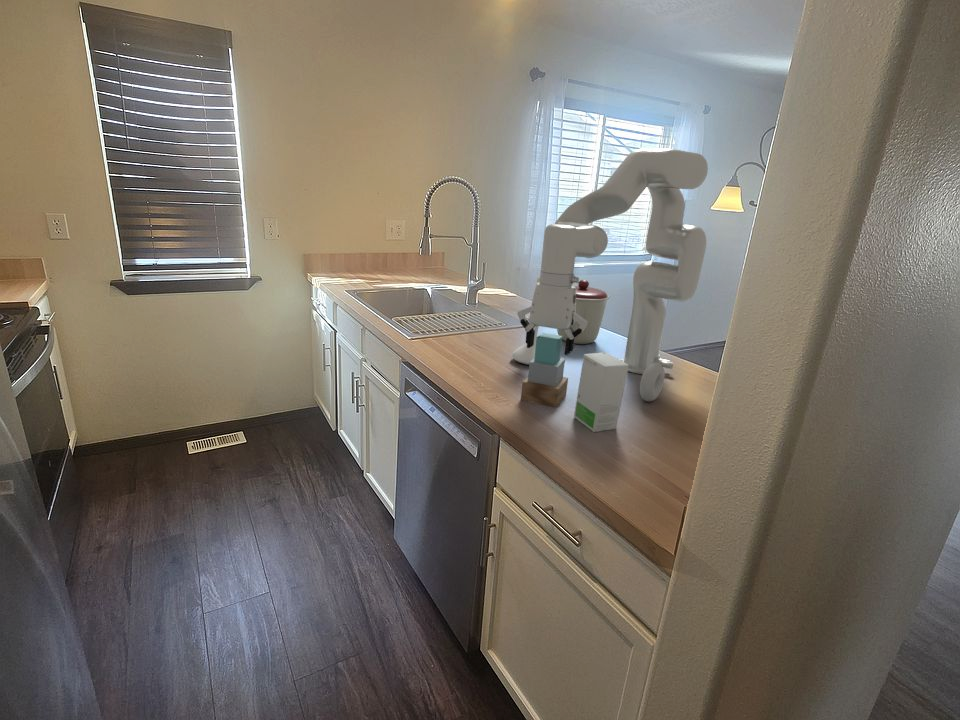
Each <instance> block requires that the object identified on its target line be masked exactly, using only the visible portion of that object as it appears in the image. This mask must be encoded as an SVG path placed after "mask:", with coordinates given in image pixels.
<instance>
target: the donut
mask: <svg viewBox="0 0 960 720" xmlns="http://www.w3.org/2000/svg"><path fill="white" fill-rule="evenodd" d="M664 368H665V367H663V366H661V365H660V364H659V363H652V364H650V365H649V366H648V367H647V368H646V369H645V371H644V373H643V374H641V375H642V376H641V378H640V383H639V395H640V396H641V398H642V399H643V400H644V401H645V402H653V401H655V400H657V398H658V397H659V396H660V393H661V391H662V389H663V385H664V381H665V376H666V375H665V369H664Z"/></svg>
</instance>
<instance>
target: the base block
mask: <svg viewBox="0 0 960 720" xmlns="http://www.w3.org/2000/svg"><path fill="white" fill-rule="evenodd" d="M568 382H569V377H566V376H563V378H562V379H561V381H560V382H559V383H558V384H557V386H556V387H554V386H549V385H544V384H539V383H534V382H529V381H528V376H527V377H526V378H525V379H524V380H522V383H521V392H520V393H521V394H520V401H524V402H529V403H531V404H537V405H542V406H546V407H551V408H554V409H556V408H558V406H559V405H560V404H561V403H562V401H563V400H564V398H566V396H567V390H568V385H569V384H568Z"/></svg>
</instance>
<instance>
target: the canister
mask: <svg viewBox="0 0 960 720" xmlns="http://www.w3.org/2000/svg"><path fill="white" fill-rule="evenodd" d="M573 286H574V287H575V290H576V312H575V313H577V314H578V315H579V316H581V317H582V318H583V319H585V320H586V321H587V322H588V325H587V326H586V327H585V329H584V330H583V331H582V332H581V333H580V334H579V335H578V336H576V337H575V338H574V344H575V345H588V344H591V343H593V342H595V341H596V339H597V338H598V335H599V333H600V329H601V325H602V322H603V317H604V314H605V309H606V307H607V301H608V300H609V299H610V295H609V294H607V293H606V292H605V291H604V290H602V289H599V288H595V287H591V286H590V282H589V281H588V280H586V279H581V280H579V282H578V283H577V285H573ZM579 326H580V324H579V323H578V322H576V321H575V322H574V325H573V326H572V327H573V329H574V330H577V329H578V328H579ZM556 331H557V335H559V336H563V337H562V341H564V342H566V339H567V338H568V336H567V334H566V333H565V331H564V330H560V329H556Z"/></svg>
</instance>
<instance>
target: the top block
mask: <svg viewBox="0 0 960 720" xmlns="http://www.w3.org/2000/svg"><path fill="white" fill-rule="evenodd" d="M534 359H535V357H534V358H533V359H532V360H531V361H530V362H529V365H528V373H527V374H528V375H527V377H528V381H529V382H534V383H539V384H544V385H549V386H554V387H556V386H557V384H558V383H559V382H560V381H561V379H562V378H563V377H564V370H565V363H566V359H565V358H561V357H560V360H559V361H558V362H557V363H556V364H555V365H551V364H546V363H541V362H536V361H534Z"/></svg>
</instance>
